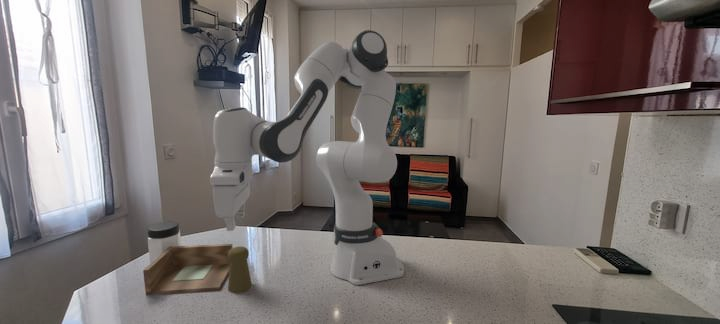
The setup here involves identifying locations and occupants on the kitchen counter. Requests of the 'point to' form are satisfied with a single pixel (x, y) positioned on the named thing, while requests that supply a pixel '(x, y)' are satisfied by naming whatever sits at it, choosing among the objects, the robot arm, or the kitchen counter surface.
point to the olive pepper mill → (239, 270)
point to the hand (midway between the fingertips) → (236, 223)
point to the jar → (162, 238)
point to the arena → (188, 269)
